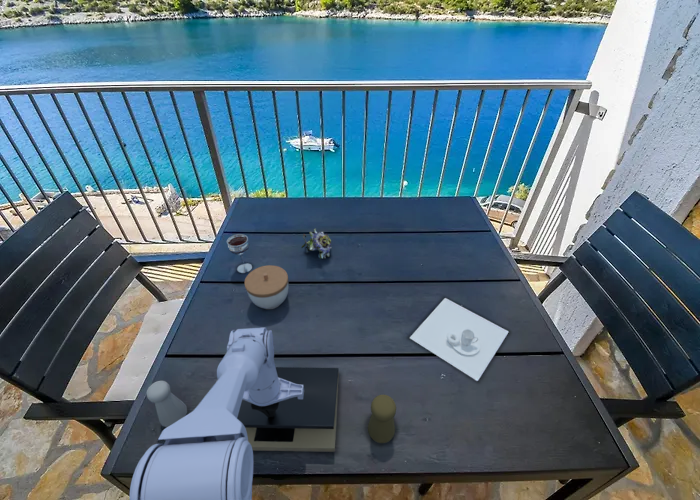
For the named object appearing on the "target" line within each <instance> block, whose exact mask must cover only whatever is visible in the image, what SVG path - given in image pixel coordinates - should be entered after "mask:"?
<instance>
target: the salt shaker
mask: <svg viewBox="0 0 700 500" xmlns="http://www.w3.org/2000/svg"><path fill="white" fill-rule="evenodd" d="M146 398H147V399H148V400H149V402H151V403H153V404H154V406H155V410H156V414H157V419H158V422H159V423H160V425H161V426H162V427H165V428H167V427H168V426H170V425H172V424H173V423H175V422H177V421H178V420H180V419H181V418H183V417H185V416H186V415H188V407H187V405H186V404H185V402H183V401H182V400H181V399H180V398H179V397H177V396H176V395H175V394H174V393H172V392H171V385H170V384H169V383H168V382H167V381H166V380H157V381H155V382H153V383H151V385H150V386H148V388H147V390H146Z"/></svg>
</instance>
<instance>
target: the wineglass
mask: <svg viewBox="0 0 700 500" xmlns="http://www.w3.org/2000/svg"><path fill="white" fill-rule="evenodd" d="M226 244H227V249H228V251H229V252H230V253H231V254H233V255H236V256H240V260H241V262H242V263H241V264H240V265H238V266H237V268H236V270H237V272H238V273H241V274H245V273H249V272H251V271H252V269H253V266H252V264H251V263H249V262H248V263H247V262H246V263H245V261H244V256H243V255H244V254H245V253H246V252H248V251H249V248H250V241H249V237H248V236H247V235H245V234H242V233H237V234H233V235H230V236H229V237H228V238H227V240H226Z"/></svg>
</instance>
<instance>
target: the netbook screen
mask: <svg viewBox="0 0 700 500" xmlns="http://www.w3.org/2000/svg"><path fill="white" fill-rule="evenodd" d="M275 367H276V371H277V375H278V377H279V378H281V379H284V380H287V381H289V382H292V383H295V384H300V385H303V386H304V396H303V399H298V398H297V397H293V398H289V399H286V400H283V401H280V402H279V406H278V409H277V410H276V412H275V417H267V416H266V415H265V414H264V413H262V412H260V411H258V410H253V409H252V408H251V403H250V402H248V401H245V400H243V399H242V402H241V406H240V410H239V413H238V417H237V419H238V420H239V421H240V422H241V423H242V424H243V425H244V426H245V428H300V429H334V420H335V408H336V395H337V383H338V384H339V380H338V371H339V367H296V366H295V367H291V366H289V367H287V366H283V367H282V366H275Z"/></svg>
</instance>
